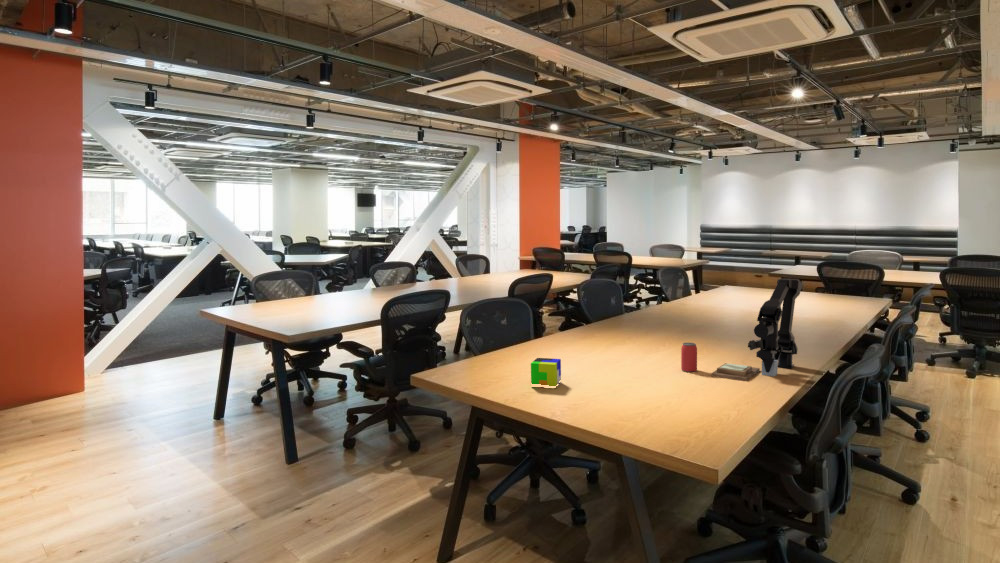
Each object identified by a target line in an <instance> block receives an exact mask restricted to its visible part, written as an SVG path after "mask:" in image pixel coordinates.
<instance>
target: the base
mask: <svg viewBox="0 0 1000 563" xmlns="http://www.w3.org/2000/svg"><path fill="white" fill-rule="evenodd" d="M759 372H760V367H755V366H751V365H750V366H749V365H744V364H737V363H735V364H734V363H723V364H721V365H719V366H718V367H716V370H714V371H713V372H711V373H710V375H711V377H713V378H714V377H715V378H723V379H729V380H730V379H731V380H737V381H743V382H747V381H748V380H749V379H751V378H752V377H753V376H755V375H756V374H758V373H759Z"/></svg>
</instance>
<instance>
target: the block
mask: <svg viewBox="0 0 1000 563" xmlns="http://www.w3.org/2000/svg"><path fill="white" fill-rule="evenodd" d="M778 368H779V367H778V360H774V362H773V364H772V367H771V369H770V372H769V373H767V372H766V370H765V366H764V363H763V360H761V376H766V375H767V376H768V377H774V376H775V377H776V376H777V375H778ZM767 376H766V377H767Z"/></svg>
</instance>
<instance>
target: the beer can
mask: <svg viewBox="0 0 1000 563" xmlns="http://www.w3.org/2000/svg"><path fill="white" fill-rule="evenodd" d="M680 352H681V356H680V358H681V361H680V362H681V364H680V365H681V371H682V372H686V373H695V372H697V371H698V347H697V344H696V343H695V342H683V343H682V345H681V351H680Z"/></svg>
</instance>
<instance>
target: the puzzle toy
mask: <svg viewBox="0 0 1000 563" xmlns="http://www.w3.org/2000/svg"><path fill="white" fill-rule="evenodd" d="M561 361H562V360H561V358H547V357H546V358H545V357H537V358H536V359H534V360H533V361H532V362H531V363H530V384H531V383H532V384H541V385H549V386H556V385H557V384H558V383H559V381H560V380H561V381H562V362H561Z"/></svg>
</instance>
